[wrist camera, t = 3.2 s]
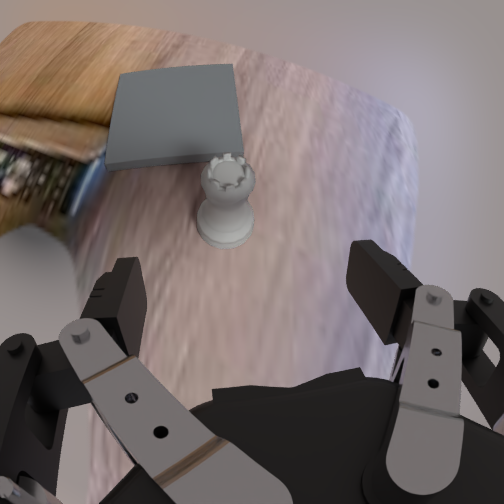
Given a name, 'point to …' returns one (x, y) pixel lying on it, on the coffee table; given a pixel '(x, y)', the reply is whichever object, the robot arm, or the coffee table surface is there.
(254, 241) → the coffee table surface
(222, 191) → the rook chess piece
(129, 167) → the slate tile
